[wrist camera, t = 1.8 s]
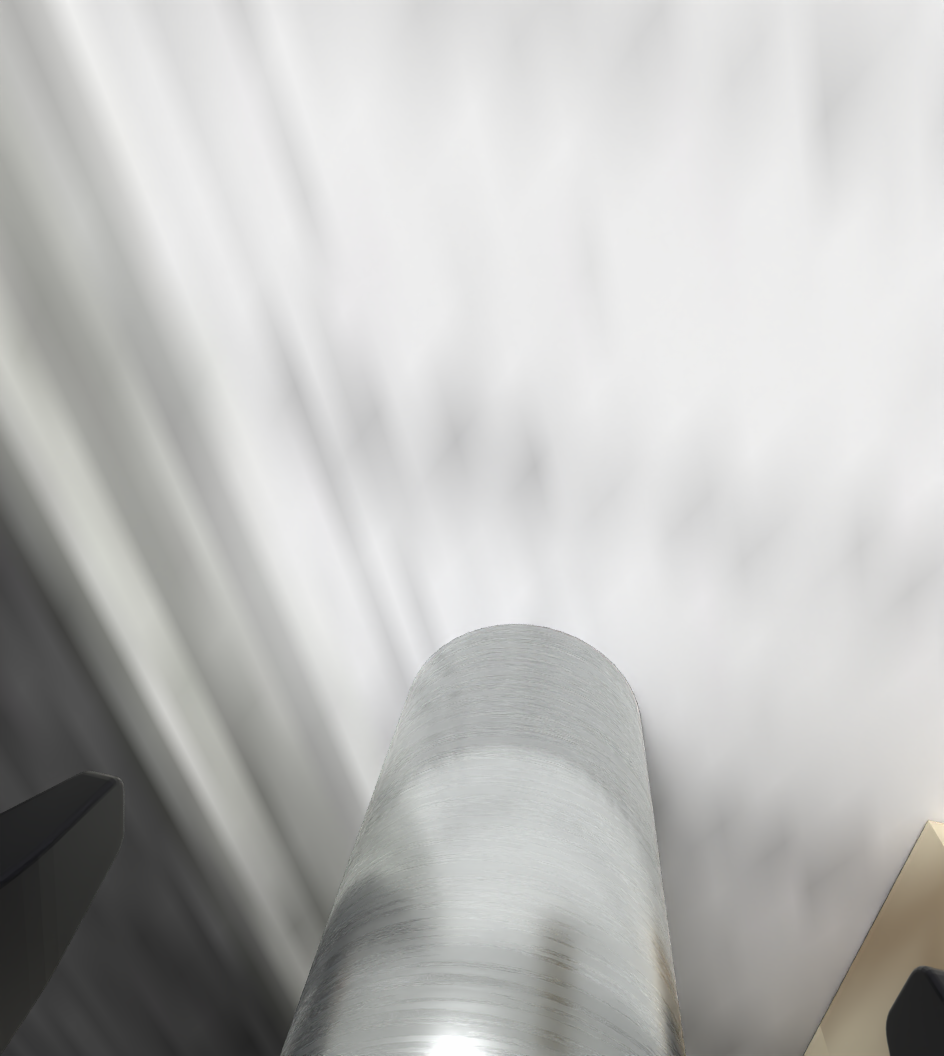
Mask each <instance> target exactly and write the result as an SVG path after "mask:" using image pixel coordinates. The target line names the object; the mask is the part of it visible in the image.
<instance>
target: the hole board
mask: <svg viewBox="0 0 944 1056" xmlns="http://www.w3.org/2000/svg"><path fill="white" fill-rule="evenodd" d="M919 966H929V967H933V968H937V969H942V970H944V824H943V823H939V822H934V821H930V820H928V822H927V823H926V825H925V827H924V829H923V831H922V833H921V835H920V837H919V839H918V840H917V842H916V844H915V846H914V848H913V850H912V852H911V854H910V856H909V857H908V859H907V861H906V863H905V865H904V867H903V869H902V871H901V873H900V874H899V876H898V878H897V880H896V882H895V884H894V886H893V888H892V890H891V891H890V893H889V895H888V897H887V899H886V901H885V903H884V905H883V907H882V908H881V910H880V912H879V914H878V916H877V918H876V920H875V922H874V923H873V925H872V927H871V929H870V931H869V933H868V935H867V937H866V939H865V940H864V942H863V944H862V946H861V948H860V950H859V952H858V954H857V956H856V957H855V959H854V961H853V963H852V965H851V967H850V969H849V971H848V973H847V974H846V976H845V978H844V980H843V982H842V984H841V986H840V988H839V990H838V991H837V993H836V995H835V997H834V999H833V1001H832V1003H831V1005H830V1007H829V1008H828V1010H827V1012H826V1014H825V1016H824V1018H823V1020H822V1022H821V1024H820V1025H819V1027H818V1029H817V1031H816V1033H815V1035H814V1037H813V1039H812V1040H811V1042H810V1044H809V1046H808V1048H807V1050H806V1052H805V1054H804V1056H890V1054H889V1049H888V1044H887V1038H886V1020H887V1016H888V1012H889V1010H890V1008H891V1007H892V1005H893V1003H894V1001H895V1000H896V998H897V996H898V995H899V993H900V991H901V989H902V988H903V986H904V984H905V982H906V981H907V979H908V977H909V975H910V974H911V972H912V971H913V970H914V969H915V968H917V967H919Z"/></svg>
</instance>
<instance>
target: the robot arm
mask: <svg viewBox="0 0 944 1056" xmlns="http://www.w3.org/2000/svg"><path fill="white" fill-rule="evenodd" d="M123 836H124V785H123V782H122V780H121V779H120V778H118V777H116V776H111V775H107V774H103V773H99V772H94V771H85V772H82V773H79V774H77V775H75V776H73V777H71V778H69V779H68V780H66V781H64V782H62V783H60V784H58V785H56V786H54V787H52V788H50V789H48V790H46V791H44V792H42V793H40V794H38V795H36V796H34V797H32V798H30V799H28V800H26V801H24V802H23V803H21V804H19V805H17V806H15V807H13V808H11V809H9V810H7V811H5V812H3V813H1V814H0V1055H1V1054H2V1052H3V1051H4V1049H5V1048H6V1046H7V1045H8V1043H9V1042H10V1040H11V1039H12V1037H13V1036H14V1034H15V1033H16V1031H17V1030H18V1028H19V1027H20V1025H21V1024H22V1022H23V1021H24V1019H25V1018H26V1016H27V1015H28V1013H29V1012H30V1010H31V1009H32V1007H33V1006H34V1004H35V1003H36V1001H37V999H38V998H39V996H40V995H41V993H42V991H43V990H44V988H45V987H46V985H47V983H48V982H49V980H50V978H51V976H52V974H53V973H54V971H55V969H56V967H57V966H58V964H59V962H60V960H61V958H62V956H63V955H64V953H65V951H66V949H67V947H68V945H69V943H70V941H71V940H72V938H73V936H74V934H75V932H76V930H77V928H78V927H79V925H80V923H81V921H82V919H83V917H84V915H85V913H86V912H87V910H88V908H89V906H90V904H91V902H92V900H93V899H94V897H95V895H96V893H97V891H98V889H99V887H100V885H101V884H102V882H103V880H104V878H105V876H106V874H107V872H108V870H109V869H110V867H111V865H112V863H113V861H114V859H115V857H116V856H117V853H118V851H119V849H120V846H121V844H122V840H123ZM886 1038H887V1044H888V1049H889V1054H890V1056H944V970H942V969H937V968H933V967H929V966H919V967H917V968H915V969H914V970H913V971H912V972H911V974H910V975H909V977H908V979H907V981H906V982H905V984H904V986H903V988H902V989H901V991H900V993H899V995H898V996H897V998H896V1000H895V1001H894V1003H893V1005H892V1007H891V1008H890V1010H889V1012H888V1016H887V1020H886Z"/></svg>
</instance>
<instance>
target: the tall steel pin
mask: <svg viewBox="0 0 944 1056" xmlns="http://www.w3.org/2000/svg"><path fill="white" fill-rule="evenodd" d="M280 1056H686V1054H685V1046H684V1039H683V1031H682V1024H681V1016H680V1009H679V1001H678V994H677V986H676V979H675V971H674V964H673V956H672V949H671V941H670V934H669V926H668V919H667V911H666V904H665V896H664V889H663V881H662V874H661V866H660V859H659V851H658V844H657V836H656V829H655V821H654V814H653V807H652V799H651V792H650V784H649V777H648V769H647V762H646V754H645V747H644V739H643V732H642V724H641V717H640V712H639V708H638V704H637V701H636V698H635V696H634V694H633V691H632V689H631V687H630V686H629V684H628V682H627V681H626V679H625V677H624V676H623V675H622V674H621V672H620V671H619V670H618V669H617V667H616V666H615V665H614V664H613V663H612V662H611V661H610V660H609V659H608V658H606V657H605V656H604V655H603V654H602V653H600V652H599V651H598V650H596V649H595V648H594V647H592V646H591V645H589V644H587V643H585V642H584V641H582V640H580V639H578V638H576V637H574V636H571V635H569V634H566V633H564V632H561V631H558V630H554V629H550V628H547V627H541V626H535V625H525V624H507V625H496V626H491V627H486V628H481V629H478V630H475V631H472V632H469V633H466V634H464V635H462V636H460V637H458V638H456V639H454V640H452V641H450V642H449V643H447V644H446V645H444V646H443V647H441V648H440V649H439V650H438V651H437V652H436V653H434V654H433V655H432V656H431V657H430V658H429V659H428V660H427V662H426V663H425V664H424V665H423V666H422V668H421V669H420V671H419V672H418V674H417V676H416V677H415V679H414V682H413V684H412V686H411V689H410V691H409V694H408V697H407V699H406V702H405V705H404V708H403V711H402V714H401V716H400V719H399V722H398V725H397V728H396V730H395V733H394V736H393V739H392V742H391V745H390V747H389V750H388V753H387V756H386V759H385V761H384V764H383V767H382V770H381V773H380V776H379V778H378V781H377V784H376V787H375V790H374V792H373V795H372V798H371V801H370V804H369V807H368V809H367V812H366V815H365V818H364V821H363V823H362V826H361V829H360V832H359V835H358V838H357V840H356V843H355V846H354V849H353V852H352V854H351V857H350V860H349V863H348V866H347V869H346V871H345V874H344V877H343V880H342V883H341V885H340V888H339V891H338V894H337V897H336V900H335V902H334V905H333V908H332V911H331V914H330V916H329V919H328V922H327V925H326V928H325V931H324V933H323V936H322V939H321V942H320V945H319V947H318V950H317V953H316V956H315V959H314V962H313V964H312V967H311V970H310V973H309V976H308V978H307V981H306V984H305V987H304V990H303V993H302V995H301V998H300V1001H299V1004H298V1007H297V1009H296V1012H295V1015H294V1018H293V1021H292V1024H291V1026H290V1029H289V1032H288V1035H287V1038H286V1040H285V1043H284V1046H283V1049H282V1052H281V1055H280Z"/></svg>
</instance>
